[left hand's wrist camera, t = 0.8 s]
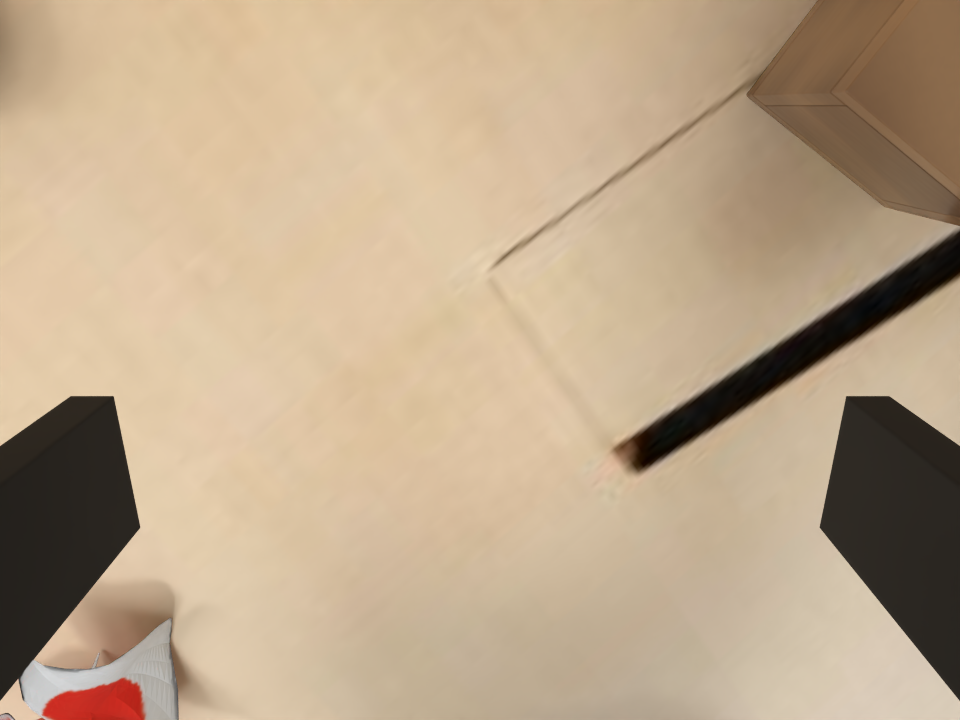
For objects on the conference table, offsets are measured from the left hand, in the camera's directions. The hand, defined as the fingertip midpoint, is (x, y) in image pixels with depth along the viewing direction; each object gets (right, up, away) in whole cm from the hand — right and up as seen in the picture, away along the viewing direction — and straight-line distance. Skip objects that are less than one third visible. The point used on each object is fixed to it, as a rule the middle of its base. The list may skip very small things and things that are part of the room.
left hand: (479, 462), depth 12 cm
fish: (-25, -19, +35) cm, 47 cm away
